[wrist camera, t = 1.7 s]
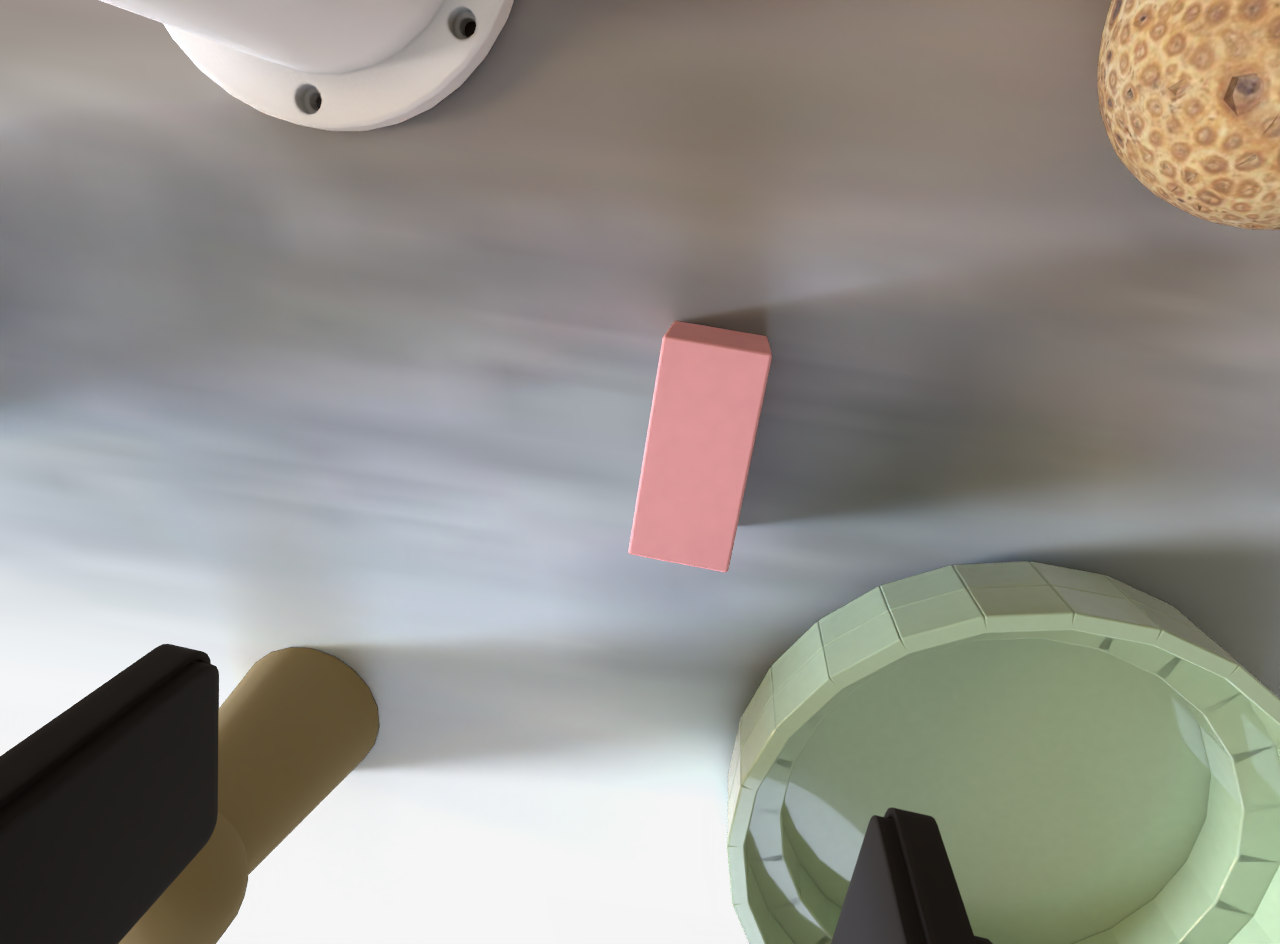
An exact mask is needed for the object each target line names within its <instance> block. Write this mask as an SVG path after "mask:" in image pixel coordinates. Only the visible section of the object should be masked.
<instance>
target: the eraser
mask: <svg viewBox="0 0 1280 944" xmlns="http://www.w3.org/2000/svg"><path fill="white" fill-rule="evenodd" d="M771 360H772V353H771V350H770V346H769V342H768V338H767V337H766V336H762V335H757V334H751V333H745V332H739V331H733V330H727V329H721V328H715V327H709V326H704V325H698V324H692V323H686V322H680V321H674V323H673V324H672V325H671V327H670V328H669V330H668V331H667V333H666V334H665V335H664V337H663V340H662V346H661V352H660V359H659V365H658V371H657V377H656V383H655V390H654V396H653V402H652V408H651V414H650V421H649V427H648V433H647V439H646V445H645V452H644V458H643V464H642V470H641V476H640V483H639V489H638V495H637V501H636V507H635V514H634V520H633V526H632V532H631V538H630V545H629V554H632V555H637V556H642V557H647V558H652V559H658V560H663V561H668V562H673V563H679V564H684V565H689V566H694V567H700V568H705V569H710V570H715V571H721V572H727V571H728V569H729V564H730V559H731V555H732V550H733V545H734V540H735V535H736V530H737V525H738V521H739V516H740V511H741V506H742V501H743V496H744V491H745V487H746V482H747V477H748V472H749V467H750V462H751V457H752V452H753V448H754V443H755V438H756V433H757V428H758V423H759V418H760V414H761V409H762V404H763V399H764V394H765V389H766V384H767V379H768V375H769V370H770V365H771Z"/></svg>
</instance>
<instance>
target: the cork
mask: <svg viewBox="0 0 1280 944" xmlns="http://www.w3.org/2000/svg"><path fill="white" fill-rule="evenodd" d="M378 730H379V719H378V709H377V705H376V703H375V701H374V699H373V696H372V694H371V692H370V690H369V688H368V686H367V685H366V684H365V683H364V682H363V680H362V679H361V678H360V677H359V676H358V675H357V673H356V672H355V671H354V670H353V669H351V668H350V667H349V666H347V665H346V664H344V663H343V662H341V661H340V660H339V659H337V658H336V657H334V656H331V655H328V654H326V653H323V652H320V651H317V650H315V649H308V648H294V647H290V648H286V649H282V650H278V651H274V652H271V653H269V654H268V655H266V656H265V657H263V658H262V659H260V660H259V661H257V662H256V663H255V664H254V665H253V667H252V668H251V669H250V670H249V672H248V673H247V674H246V675H245V677H244V678H243V679H242V680H241V682H240V683H239V684H238V685H237V687H236V688H235V689H234V690H233V692H232V693H231V694H230V695H229V697H228V698H227V699H226V700H225V702H224V703H223V704H222V705H221V707H220V708H219V715H218V816H217V822H216V826H215V829H214V831H213V834H212V836H211V837H210V839H209V841H208V842H207V843H206V845H205V846H204V847H203V848H202V850H201V851H200V852H199V853H198V854H197V855H196V856H195V857H194V859H193V860H192V861H191V862H190V863H189V864H188V865H187V866H186V868H185V869H184V870H183V871H182V872H181V873H180V874H179V876H178V877H177V878H176V879H175V880H174V881H173V882H172V883H171V885H170V886H169V887H168V888H167V889H166V890H165V891H164V892H163V894H162V895H161V896H160V897H159V898H158V899H157V900H156V901H155V903H154V904H153V905H152V906H151V907H150V908H149V909H148V911H147V912H146V913H145V914H144V915H143V916H142V917H141V918H140V920H139V921H138V922H137V923H136V924H135V925H134V926H133V927H132V929H131V930H130V931H129V932H128V933H127V934H126V935H125V936H124V938H123V939H122V940H121V941H120V942H119V943H118V944H216V943H217V941H218V940H219V939H220V937H221V936H222V935H223V933H224V932H225V931H226V929H227V928H228V927H229V925H230V924H231V922H232V921H233V920H234V918H235V917H236V915H237V914H238V911H239V909H240V906H241V904H242V901H243V899H244V896H245V891H246V887H247V882H248V875H249V874H250V873H251V872H252V871H253V870H254V869H255V868H256V867H257V866H258V865H259V864H260V863H261V862H262V861H263V860H264V859H265V858H266V857H267V856H268V855H269V854H270V853H271V852H272V851H273V850H274V849H275V848H276V847H277V846H278V845H279V844H280V843H281V842H282V841H283V839H284V838H285V837H286V836H287V835H288V834H289V833H290V832H291V831H292V830H293V829H294V828H295V827H296V826H297V825H298V824H299V823H300V822H301V821H302V820H303V819H304V818H305V817H306V816H307V815H308V814H309V813H310V812H311V811H312V810H313V809H314V808H315V807H316V806H317V805H318V804H319V803H320V802H321V801H322V800H323V799H324V798H325V797H326V796H327V795H328V794H329V793H330V792H331V791H332V790H333V789H334V788H335V787H336V786H337V785H338V784H339V783H340V782H341V781H342V780H343V779H344V778H345V777H346V776H347V775H348V774H349V773H350V772H351V771H352V770H353V769H354V768H355V767H356V766H357V765H358V764H359V763H360V762H361V761H362V760H363V759H364V758H365V757H366V755H367V754H368V753H369V751H370V750H371V749H372V747H373V746H374V745H375V741H376V737H377V734H378Z"/></svg>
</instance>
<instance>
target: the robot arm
mask: <svg viewBox="0 0 1280 944" xmlns="http://www.w3.org/2000/svg"><path fill="white" fill-rule="evenodd" d="M100 1H103V2H106V3H108V4H111V5H114V6H117V7H120V8H122V9H125V10H128V11H131V12H133V13H136V14H139V15H142V16H145V17H147V18H150V19H153V20H156V21H159V22H161V23H163V24H164V26H165V27H166V29H167V30H168V32H169V34H170V35H171V37H172V38H173V40H174V41H175V42H176V43H177V44H178V45H179V46H180V47H181V49H182V50H183V51H184V52H185V53H186V54H187V55H188V57H189V58H190V59H191V60H192V61H193V62H194V63H195V65H196V66H197V67H198V68H199V69H200V70H201V71H202V72H203V73H205V74H206V75H207V76H208V77H209V78H211V79H212V80H213V81H214V82H216V83H217V84H218V85H219V86H220V87H222V88H223V89H224V90H225V91H227V92H228V93H229V94H230V95H232V96H233V97H235V98H237V99H239V100H241V101H242V102H244V103H246V104H248V105H250V106H252V107H253V108H255V109H257V110H259V111H261V112H262V113H264V114H267V115H270V116H273V117H276V118H279V119H282V120H285V121H289V122H292V123H295V124H298V125H301V126H307V127H312V128H317V129H322V130H327V131H368V130H372V129H377V128H381V127H385V126H390V125H394V124H399V123H401V122H403V121H405V120H408V119H410V118H412V117H414V116H416V115H418V114H420V113H422V112H424V111H427V110H429V109H431V108H433V107H434V106H435V105H436V104H438V103H439V102H440V101H442V100H443V99H444V98H446V97H447V96H448V95H449V94H451V93H452V92H453V91H455V90H456V89H457V88H459V87H460V86H461V85H462V84H463V83H464V82H465V80H466V79H467V78H468V77H469V76H470V75H471V74H472V72H473V71H474V70H475V69H476V68H477V67H478V65H479V64H480V63H481V62H482V61H483V60H484V58H485V57H486V56H487V54H488V53H489V51H490V49H491V47H492V46H493V44H494V42H495V41H496V39H497V37H498V35H499V34H500V32H501V30H502V28H503V27H504V25H505V23H506V21H507V19H508V16H509V14H510V11H511V8H512V5H513V2H514V0H100ZM472 21H474V22H475V23H476V29H475V32H474V34H473V35H472V36H470V37H466V36H465V32H464V29H465V26H466V24H467V23H468V22H472ZM320 95H321V99H322V103H321V107H320V109H318V108H317V105H316V101H317V98H318V97H319V96H320ZM218 715H219V673H218V669H217V667H216V666H214V665H211V663H210V658H209V656H208V654H206V653H204V652H202V651H197V650H193V649H188V648H184V647H179V646H175V645H171V644H163V645H161V646H159V647H157V648H155V649H154V650H152V651H151V652H149V653H148V654H146V655H145V656H144V657H142V658H141V659H139V660H138V661H136V662H135V663H133V664H132V665H131V666H129V667H128V668H126V669H125V670H123V671H122V672H121V673H119V674H118V675H116V676H115V677H113V678H112V679H111V680H109V681H108V682H106V683H105V684H103V685H102V686H101V687H99V688H98V689H96V690H95V691H93V692H92V693H91V694H89V695H88V696H86V697H85V698H83V699H82V700H80V701H79V702H78V703H76V704H75V705H73V706H72V707H70V708H69V709H68V710H66V711H65V712H63V713H62V714H60V715H59V716H58V717H56V718H55V719H53V720H52V721H50V722H49V723H48V724H46V725H45V726H43V727H42V728H40V729H39V730H37V731H36V732H35V733H33V734H32V735H30V736H29V737H27V738H26V739H25V740H23V741H22V742H20V743H19V744H17V745H16V746H15V747H13V748H12V749H10V750H9V751H7V752H6V753H5V754H3V755H2V756H0V944H118V943H119V942H120V941H121V940H122V939H123V938H124V936H125V935H126V934H127V933H128V932H129V931H130V930H131V929H132V927H133V926H134V925H135V924H136V923H137V922H138V921H139V920H140V918H141V917H142V916H143V915H144V914H145V913H146V912H147V911H148V909H149V908H150V907H151V906H152V905H153V904H154V903H155V901H156V900H157V899H158V898H159V897H160V896H161V895H162V894H163V892H164V891H165V890H166V889H167V888H168V887H169V886H170V885H171V883H172V882H173V881H174V880H175V879H176V878H177V877H178V876H179V874H180V873H181V872H182V871H183V870H184V869H185V868H186V866H187V865H188V864H189V863H190V862H191V861H192V860H193V859H194V857H195V856H196V855H197V854H198V853H199V852H200V851H201V850H202V848H203V847H204V846H205V845H206V843H207V842H208V841H209V839H210V837H211V836H212V834H213V831H214V829H215V826H216V822H217V816H218ZM831 944H993V943H992V942H991V941H990V940H989V939H987V938H982V937H978V936H974V934H973V931H972V928H971V925H970V922H969V919H968V916H967V913H966V909H965V906H964V903H963V900H962V897H961V894H960V891H959V888H958V885H957V882H956V879H955V876H954V873H953V870H952V867H951V864H950V861H949V858H948V855H947V852H946V849H945V846H944V843H943V840H942V837H941V834H940V831H939V828H938V825H937V823H936V821H935V819H934V818H933V817H932V816H928V815H924V814H919V813H915V812H911V811H906V810H902V809H897V808H893V807H891V808H888V810H887V811H886V813H885V815H884V817H881V816H877V815H873V816H872V817H871V819H870V821H869V824H868V827H867V830H866V833H865V837H864V840H863V843H862V846H861V849H860V852H859V856H858V859H857V862H856V865H855V868H854V871H853V875H852V878H851V881H850V884H849V887H848V891H847V894H846V897H845V900H844V903H843V906H842V910H841V913H840V916H839V919H838V922H837V926H836V929H835V932H834V935H833V938H832V941H831Z"/></svg>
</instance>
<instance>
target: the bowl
mask: <svg viewBox="0 0 1280 944" xmlns="http://www.w3.org/2000/svg"><path fill="white" fill-rule="evenodd" d="M891 807H893V808H897V809H902V810H906V811H911V812H915V813H919V814H924V815H928V816H932V817H933V818H934V819H935V821H936V823H937V825H938V828H939V831H940V834H941V837H942V840H943V843H944V846H945V849H946V852H947V855H948V858H949V861H950V864H951V867H952V870H953V873H954V876H955V879H956V882H957V885H958V888H959V891H960V894H961V897H962V900H963V903H964V906H965V909H966V913H967V916H968V919H969V922H970V925H971V928H972V931H973V934H974V936H978V937H982V938H987V939H989V940H990V941H991V942H992V943H993V944H1280V698H1279V697H1278V696H1277V695H1276V694H1274V693H1273V692H1272V691H1271V690H1270V689H1269V688H1267V687H1266V686H1265V685H1264V684H1263V683H1262V682H1260V681H1259V680H1258V679H1257V678H1256V677H1255V676H1254V675H1252V674H1251V673H1250V672H1249V671H1248V670H1247V669H1245V668H1244V667H1243V666H1242V665H1241V664H1240V663H1239V662H1237V661H1236V660H1235V659H1234V658H1233V657H1232V656H1230V655H1229V654H1228V653H1227V652H1226V651H1225V650H1224V649H1222V648H1221V647H1220V646H1219V645H1218V644H1217V643H1215V642H1214V641H1213V640H1212V639H1211V638H1210V637H1208V636H1207V635H1206V634H1205V633H1204V632H1203V631H1201V630H1200V629H1199V628H1198V627H1197V626H1196V625H1194V624H1193V623H1192V622H1191V621H1190V620H1189V619H1187V618H1186V617H1185V616H1184V615H1183V614H1182V613H1180V612H1179V611H1178V610H1177V609H1176V608H1175V607H1173V606H1172V605H1170V604H1168V603H1166V602H1163V601H1161V600H1159V599H1157V598H1155V597H1153V596H1150V595H1148V594H1146V593H1144V592H1142V591H1140V590H1137V589H1135V588H1133V587H1131V586H1129V585H1127V584H1124V583H1122V582H1120V581H1118V580H1116V579H1114V578H1111V577H1109V576H1107V575H1102V574H1096V573H1091V572H1086V571H1080V570H1075V569H1069V568H1064V567H1059V566H1053V565H1048V564H1042V563H1037V562H1028V561H1021V562H1001V563H981V564H961V565H953V566H952V565H949V566H946V567H942V568H939V569H935V570H932V571H928V572H925V573H921V574H918V575H914V576H911V577H907V578H904V579H900V580H897V581H893V582H890V583H886V584H883V585H881V586H880V587H876V588H874V589H873V590H871V591H869V592H867V593H866V594H864V595H862V596H860V597H859V598H857V599H855V600H853V601H851V602H850V603H848V604H846V605H844V606H843V607H841V608H839V609H837V610H836V611H834V612H832V613H830V614H829V615H827V616H825V617H823V618H821V619H820V620H819V622H818V621H817V622H816V623H815V624H814V625H813V626H812V627H811V628H810V629H809V630H808V631H807V632H806V633H805V634H804V635H803V636H801V637H800V638H799V639H798V640H797V641H796V642H795V643H794V644H793V645H792V646H791V647H790V648H789V649H788V650H787V651H786V652H785V653H784V654H783V655H782V656H781V657H780V658H779V659H778V660H777V661H776V662H775V663H774V664H773V665H772V667H770V668H769V670H768V672H767V674H766V675H765V677H764V679H763V681H762V682H761V684H760V686H759V688H758V689H757V691H756V693H755V694H754V696H753V698H752V700H751V701H750V703H749V705H748V707H747V708H746V710H745V712H744V714H743V715H742V718H741V719H740V723H739V727H738V732H737V736H736V741H735V745H734V749H733V754H732V758H731V763H730V767H729V772H728V814H727V853H728V864H729V874H730V885H731V895H732V903H733V906H734V909H735V911H736V913H737V916H738V918H739V921H740V923H741V925H742V928H743V930H744V932H745V935H746V937H747V939H748V942H749V944H831V941H832V938H833V935H834V932H835V929H836V926H837V922H838V919H839V916H840V913H841V910H842V906H843V903H844V900H845V897H846V894H847V891H848V887H849V884H850V881H851V878H852V875H853V871H854V868H855V865H856V862H857V859H858V856H859V852H860V849H861V846H862V843H863V840H864V837H865V833H866V830H867V827H868V824H869V821H870V819H871V817H872V816H873V815H877V816H881V817H884V815H885V813H886V811H887V810H888V808H891Z"/></svg>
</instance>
